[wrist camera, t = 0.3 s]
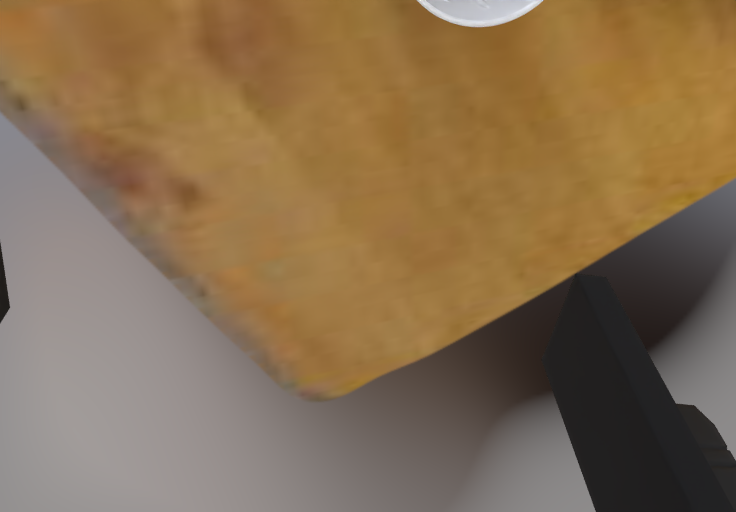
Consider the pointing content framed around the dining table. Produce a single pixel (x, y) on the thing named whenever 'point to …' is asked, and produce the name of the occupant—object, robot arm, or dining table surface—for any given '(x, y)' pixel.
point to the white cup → (479, 10)
